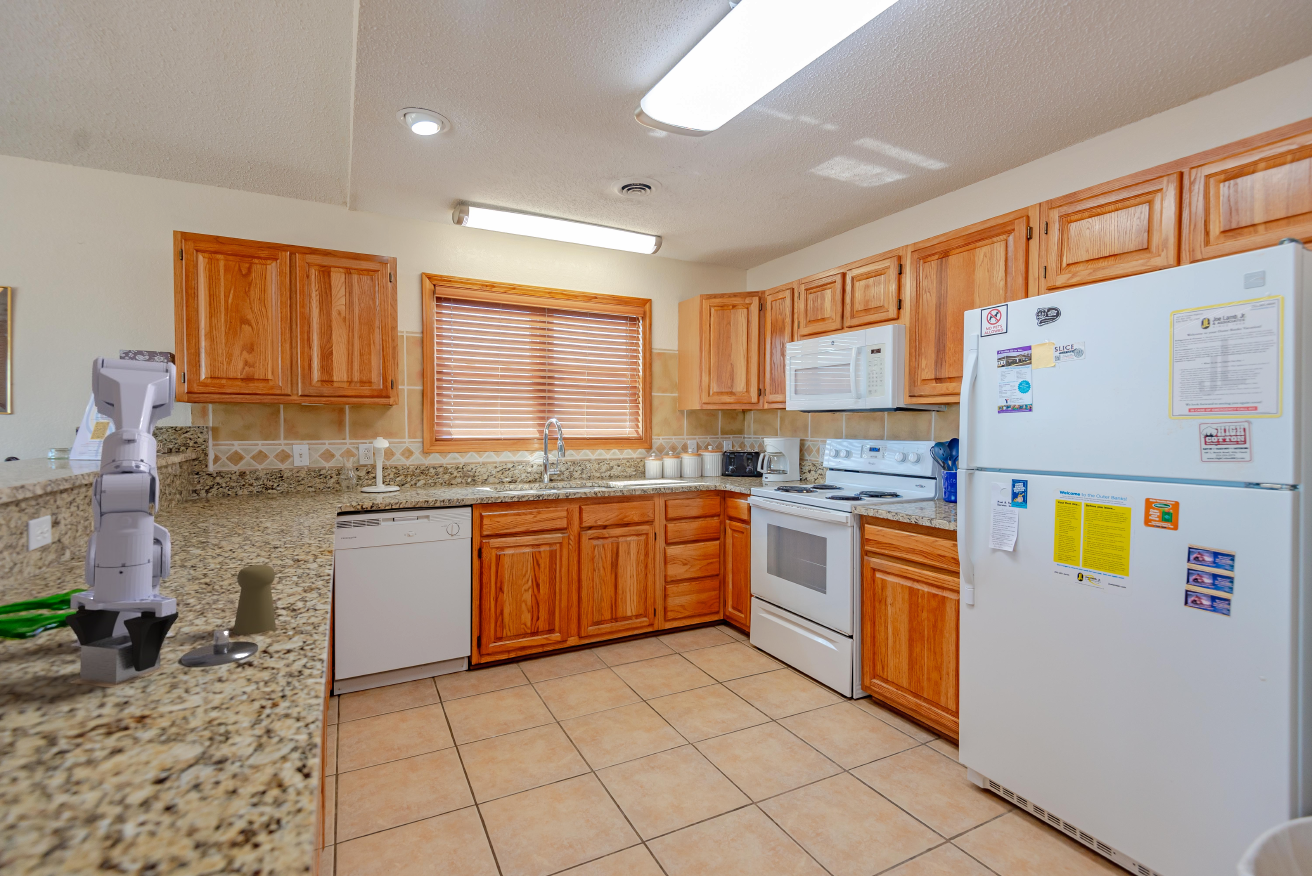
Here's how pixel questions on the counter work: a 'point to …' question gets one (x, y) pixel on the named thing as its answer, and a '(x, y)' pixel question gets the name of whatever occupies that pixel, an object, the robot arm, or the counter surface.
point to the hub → (219, 651)
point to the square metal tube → (110, 661)
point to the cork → (255, 601)
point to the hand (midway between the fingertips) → (121, 666)
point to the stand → (119, 683)
